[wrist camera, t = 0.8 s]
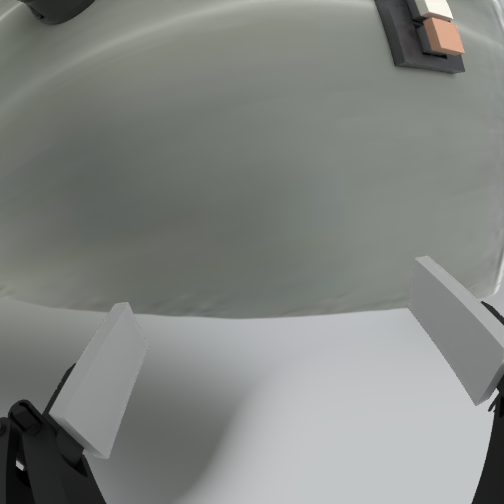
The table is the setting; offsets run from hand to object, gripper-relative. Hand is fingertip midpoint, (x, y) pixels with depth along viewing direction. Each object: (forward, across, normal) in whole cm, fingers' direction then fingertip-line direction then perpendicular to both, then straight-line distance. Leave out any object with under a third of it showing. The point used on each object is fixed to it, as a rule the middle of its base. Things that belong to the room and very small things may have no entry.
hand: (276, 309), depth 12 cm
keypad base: (+26, +28, +26) cm, 46 cm away
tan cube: (+23, +28, +20) cm, 42 cm away
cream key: (+23, +28, +26) cm, 44 cm away
